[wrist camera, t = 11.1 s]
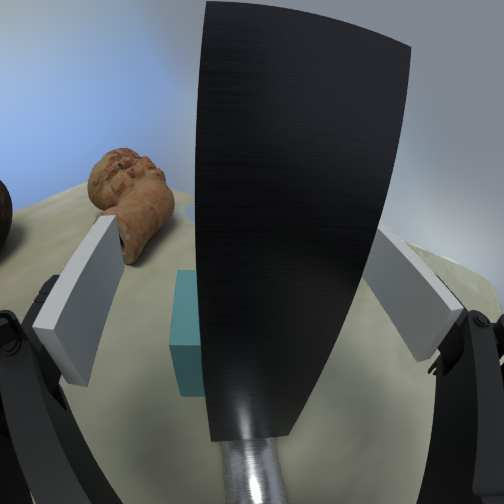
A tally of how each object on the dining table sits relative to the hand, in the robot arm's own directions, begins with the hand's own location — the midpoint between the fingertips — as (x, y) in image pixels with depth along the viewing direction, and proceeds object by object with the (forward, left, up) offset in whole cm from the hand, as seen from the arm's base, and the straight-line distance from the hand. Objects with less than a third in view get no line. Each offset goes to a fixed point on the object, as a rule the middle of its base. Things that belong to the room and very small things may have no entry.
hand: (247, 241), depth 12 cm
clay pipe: (-27, +8, -12) cm, 31 cm away
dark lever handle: (+5, -5, -11) cm, 13 cm away
